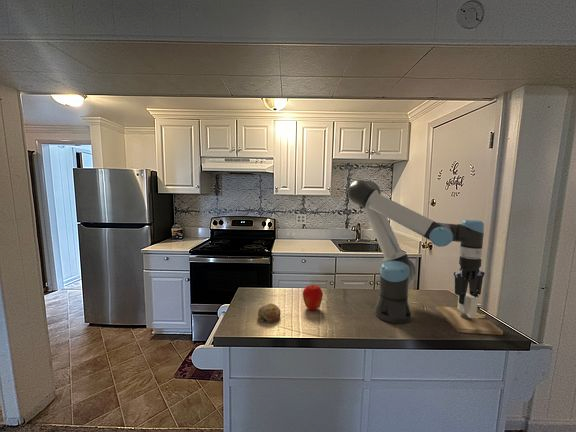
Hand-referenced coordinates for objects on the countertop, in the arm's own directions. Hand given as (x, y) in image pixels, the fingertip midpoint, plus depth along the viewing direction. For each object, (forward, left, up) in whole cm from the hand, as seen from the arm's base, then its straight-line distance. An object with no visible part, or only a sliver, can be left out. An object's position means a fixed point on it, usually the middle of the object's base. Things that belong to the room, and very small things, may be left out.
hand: (466, 310), depth 109 cm
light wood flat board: (0, 0, -5) cm, 5 cm away
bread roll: (-84, -8, -5) cm, 85 cm away
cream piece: (+3, 0, -3) cm, 4 cm away
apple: (-66, +3, -5) cm, 66 cm away
